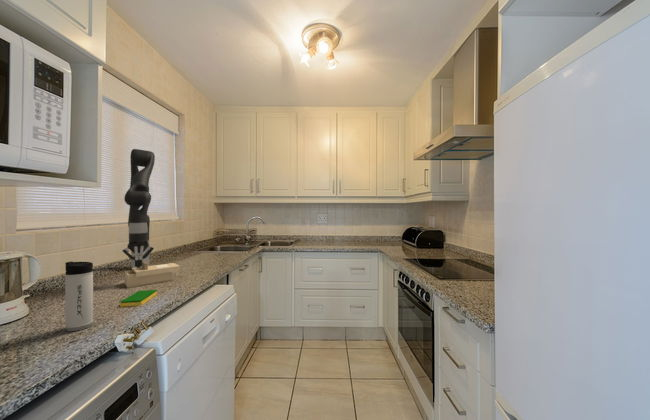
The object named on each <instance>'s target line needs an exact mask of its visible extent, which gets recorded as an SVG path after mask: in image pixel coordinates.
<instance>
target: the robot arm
mask: <svg viewBox="0 0 650 420" xmlns="http://www.w3.org/2000/svg"><path fill="white" fill-rule="evenodd" d="M129 156H130V184H129V188H128V190H127V191H125V192H126V193H125V194H124V197H123V198H124V203H125V204H126V205H128V206H129V211H128V219H127V221H128V222H127V226H128V244H127V247H125V248H124V249H122V250H121V251H122V252H123V254H125V255H126V256H127V257H128V258H129V259H130V260H131V261H130V265H131V266H130V269H131V270H132V268H141V267H142V261H145V262H146V263H148V266H150V254H151V253H152V251H153V250H154V247H152V246H151V245H150V223H151V222H150V221H151V220H150V216H149V215H148V211H149V206H150V204H151V201H152V195H151V193H150V186H149V185H150V177H151V175H152V172H153V169H154V166H155V159H156V158H155V157H156V156H155V153H154V152H153V151H150V150H145V149H140V148H139V149H138V148H133V149H131V151H130V155H129ZM139 167H142V168H141V169H140V170H139ZM129 252H130V253H129Z"/></svg>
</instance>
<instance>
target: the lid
mask: <svg viewBox="0 0 650 420" xmlns="http://www.w3.org/2000/svg"><path fill="white" fill-rule="evenodd" d="M131 271H134V272H135V273H136V277H140V276H147V275H154V274H160V273H167V272H173V273H174V272H180V271H181V266H180V265H179V264H177V263H175V262H170V263H164V264H163V263H162V264H156V265H149V266H148V263H146V262H145V261H142V267H141V268H132V269H131Z"/></svg>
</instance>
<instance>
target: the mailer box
mask: <svg viewBox="0 0 650 420" xmlns="http://www.w3.org/2000/svg"><path fill="white" fill-rule="evenodd" d="M172 274H173V273H172V272H167V273H160V274H154V275H147V276H140V277H136V273H135V272H134V271H132V270H126V271H124V285H125V286H126V287H127V289H131V288H137V287H142V286H148V285H149V286H150V285H154V284H155V285H156V284H160V283H167V282H171V281H172V280H173V279H172V276H173V275H172Z"/></svg>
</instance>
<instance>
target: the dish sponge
mask: <svg viewBox="0 0 650 420" xmlns="http://www.w3.org/2000/svg"><path fill="white" fill-rule="evenodd" d="M157 294H158V290H157V289H148V290H147V289H146V290H145V289H144V290H138V291H136V292H134V293H133V294H131V295H129V296H128V297H126V298H124V299H122V300H120V301H119V303H120V305H119V307H120V308H124V307H126V308H128V307H138V306H139V305H141V306H143V305H144V304H145V303H147V302H148V301H150V300H151V299H153V298H154V297H156V296H157ZM142 304H143V305H142ZM139 307H140V306H139Z"/></svg>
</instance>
